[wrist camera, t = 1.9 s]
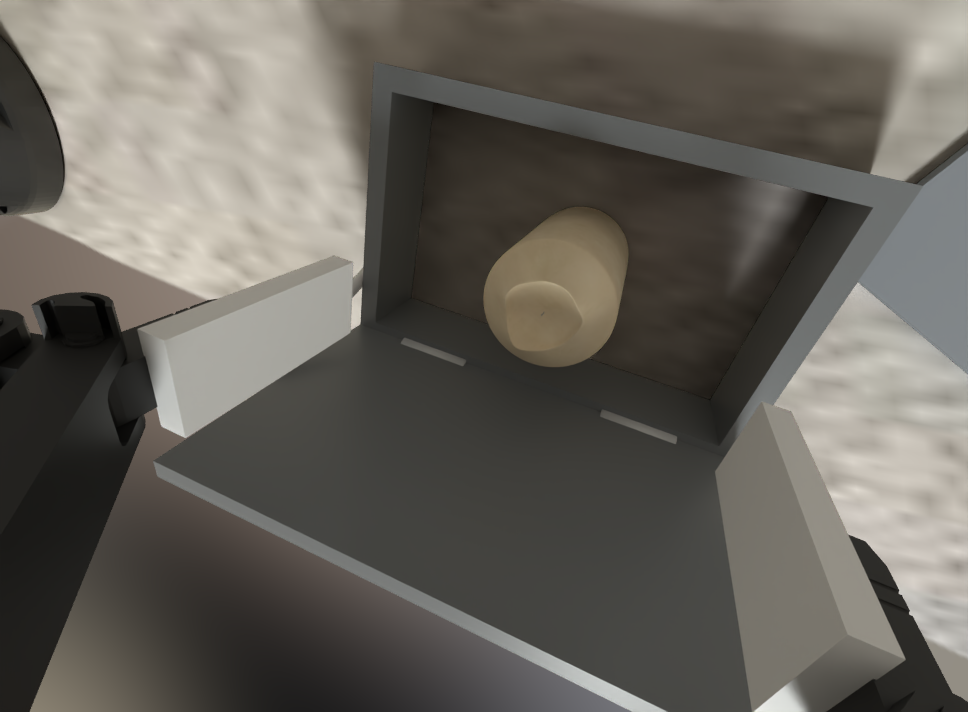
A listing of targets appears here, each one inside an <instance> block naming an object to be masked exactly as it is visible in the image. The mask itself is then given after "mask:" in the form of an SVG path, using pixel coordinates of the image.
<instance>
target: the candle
mask: <svg viewBox="0 0 968 712" xmlns="http://www.w3.org/2000/svg"><path fill="white" fill-rule="evenodd" d="M628 259H629V250H628V244H627V241H626V237H625V235H624V233H623V231H622V230H621V228H620V226H619V225H618V224H617V223H616V222H615V221H614V220H613V219H612V218H611V217H610V216H608V215H607V214H605V213H603V212H601V211H599V210H597V209H593V208H589V207H571V208H567V209H564V210H561V211H559V212H557V213H555V214H553V215H552V216H550V217H549V218H547V219H546V220H545V221H543V222H542V223H541V224H540V225H539V226H537V227H536V228H535V229H534V230H532V231H531V232H530V233H529V234H527V235H526V236H525V237H524V238H523V239H521V240H520V241H519V242H518V243H516V244H515V245H514V246H513V247H512V248H510V249H509V250H508V251H507V252H505V253H504V254H503V255H502V256H501V257H500V258H499V259H498V260H497V262H496V263H495V264H494V266H493V267H492V269H491V271H490V273H489V275H488V277H487V280H486V283H485V287H484V295H483V303H484V311H485V315H486V319H487V322H488V324H489V326H490V328H491V330H492V332H493V334H494V335H495V337H496V338H497V339H498V341H499V342H500V343H501V344H502V345H503V346H504V347H505V348H506V349H507V350H508V351H510V352H511V353H512V354H514V355H515V356H517V357H518V358H520V359H522V360H524V361H526V362H529V363H532V364H535V365H539V366H545V367H565V366H569V365H574V364H577V363H579V362H582V361H584V360H586V359H588V358H589V357H591V356H592V355H594V354H595V353H596V352H597V351H598V350H600V349H601V348H602V347H603V345H604V344H605V343H606V342H607V340H608V339H609V337H610V335H611V334H612V331H613V329H614V327H615V323H616V320H617V315H618V311H619V306H620V301H621V296H622V291H623V286H624V282H625V277H626V272H627V266H628Z"/></svg>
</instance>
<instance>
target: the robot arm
mask: <svg viewBox="0 0 968 712" xmlns="http://www.w3.org/2000/svg"><path fill="white" fill-rule="evenodd" d="M62 187H63V161H62V155H61V149H60V145H59V141H58V138H57V134H56V131H55V128H54V125H53V122H52V120H51V117H50V115H49V112H48V110H47V108H46V105H45V103H44V101H43V99H42V97H41V95H40V93H39V91H38V89H37V87H36V86H35V84H34V82H33V80H32V79H31V77H30V75H29V74H28V72H27V71H26V69H25V67H24V66H23V64H22V63H21V62H20V60H19V59H18V57H17V56H16V55H15V53H14V52H13V51H12V49H11V48H10V47H9V46H8V44H7V43H6V42H5V41H4V40H3V39H2V37H1V36H0V215H4V216H15V215H23V214H31V213H38V212H44V211H47V210H49V209H51V208H52V207H53V206H54V205H55V204H56V203H57V201H58V200H59V197H60V195H61V192H62ZM352 285H353V262H351V261H348V260H345V259H342V258H340V257H337V256H332V257H329V258H327V259H324V260H321V261H319V262H316V263H313V264H311V265H308V266H305V267H302V268H300V269H297V270H294V271H292V272H289V273H286V274H284V275H281V276H278V277H276V278H273V279H270V280H267V281H265V282H262V283H259V284H257V285H254V286H251V287H249V288H246V289H243V290H241V291H238V292H235V293H232V294H230V295H227V296H224V297H222V298H219V299H213V300H208V301H205V302H202V303H200V304H197V305H194V306H191V307H190V309H188V308H186V309H183V310H180V311H178V312H176V313H175V314H169V315H167V316H164V317H161V318H159V319H156V320H153V321H150V322H148V323H145V324H142V325H140V326H137V327H134V328H131V329H129V330H126V331H123V332H121V329H120V325H119V322H118V318H117V314H116V311H115V307H114V303H113V301H112V300H111V299H110V298H109V297H107V296H104V295H101V294H96V293H85V292H81V293H65V294H59V295H54V296H50V297H47V298H44V299H41V300H39V301H37V302H36V303H34V304H32V308H33V310H34V313H35V315H36V318H37V321H38V324H39V326H40V329H41V331H42V334H43V335H40V334H34V333H30V332H29V329H28V327H27V324H26V322H25V319H24V317H23V316H22V315H21V314H19V313H18V312H14V311H10V310H0V712H30V709H31V707H32V704H33V702H34V699H35V697H36V694H37V692H38V689H39V687H40V685H41V682H42V679H43V677H44V675H45V672H46V670H47V667H48V665H49V662H50V660H51V657H52V655H53V652H54V650H55V648H56V645H57V643H58V640H59V638H60V635H61V633H62V630H63V628H64V625H65V623H66V621H67V618H68V616H69V613H70V611H71V608H72V606H73V603H74V601H75V598H76V596H77V593H78V591H79V589H80V586H81V584H82V581H83V579H84V576H85V574H86V571H87V569H88V567H89V564H90V561H91V559H92V556H93V554H94V551H95V549H96V547H97V544H98V542H99V539H100V537H101V534H102V532H103V530H104V527H105V525H106V522H107V520H108V517H109V515H110V512H111V510H112V507H113V505H114V502H115V500H116V498H117V495H118V493H119V490H120V488H121V485H122V483H123V480H124V478H125V475H126V473H127V471H128V468H129V466H130V463H131V461H132V458H133V456H134V453H135V451H136V448H137V446H138V444H139V441H140V438H141V436H142V433H143V431H144V429H145V417H144V414H145V413H147V412H149V411H151V410H152V409H154V408H156V407H157V410H158V415H159V419H160V423H161V426H162V427H164V428H166V429H168V430H170V431H172V432H174V433H176V434H178V435H180V436H182V437H184V438H186V437H188V436H190V435H191V434H193V433H194V432H196V431H197V430H199V429H201V428H202V427H204V426H205V425H207V424H208V423H210V422H212V421H213V420H215V419H216V418H218V417H219V416H221V415H223V414H224V413H226V412H227V411H229V410H230V409H232V408H234V407H235V406H237V405H238V404H240V403H241V402H243V401H245V400H246V399H248V398H249V397H251V396H252V395H254V394H255V393H257V392H259V391H260V390H262V389H263V388H265V387H266V386H268V385H270V384H271V383H273V382H274V381H276V380H277V379H279V378H281V377H282V376H284V375H285V374H287V373H288V372H290V371H292V370H293V369H295V368H296V367H298V366H299V365H301V364H302V363H304V362H306V361H307V360H309V359H310V358H312V357H313V356H315V355H317V354H318V353H320V352H321V351H323V350H324V349H326V348H328V347H329V346H331V345H332V344H334V343H335V342H337V341H339V340H340V339H342V338H343V337H345V336H346V335H348V334H350V333H351V309H352ZM715 475H716V481H717V488H718V494H719V501H720V507H721V513H722V520H723V526H724V533H725V539H726V546H727V552H728V559H729V565H730V572H731V578H732V585H733V591H734V598H735V604H736V611H737V617H738V624H739V630H740V637H741V643H742V650H743V656H744V663H745V669H746V676H747V682H748V689H749V695H750V701H751V708H752V712H968V702H967V701H965V700H964V699H963V698H961V697H959V696H957V695H955V694H953V693H952V691H951V689H950V687H949V686H948V684H947V682H946V680H945V678H944V676H943V674H942V672H941V670H940V668H939V666H938V664H937V662H936V661H935V658H934V657H933V655H932V653H931V651H930V649H929V647H928V645H927V643H926V641H925V639H924V637H923V635H922V633H921V631H920V629H919V628H918V626H917V624H916V622H915V620H914V618H913V616H911V615H909V611H910V610H909V608H908V606H907V604H906V602H905V600H904V599H903V597H902V595H900V594H898V592H899V589H898V587H897V585H896V583H895V581H894V579H893V577H892V575H891V573H890V572H889V570H888V568H887V566H886V565H885V564H884V562H883V561H882V560H881V559H880V558H879V557H878V556H877V554H876V553H875V552H874V551H873V550H872V549H871V547H870V546H869V545H868V544H867V543H866V542H865V541H863V540H860V539H858V538H855V537H853V536H850V535H848V533H847V531H846V529H845V527H844V525H843V522H842V520H841V518H840V516H839V514H838V512H837V509H836V507H835V505H834V503H833V501H832V499H831V496H830V494H829V492H828V490H827V488H826V486H825V483H824V481H823V479H822V477H821V475H820V473H819V470H818V468H817V466H816V464H815V462H814V460H813V457H812V455H811V453H810V451H809V449H808V447H807V444H806V442H805V440H804V438H803V436H802V434H801V431H800V429H799V427H798V425H797V423H796V421H795V418H794V416H793V414H792V412H791V411H788V410H785V409H782V408H779V407H777V406H774V405H771V404H768V403H765V402H761V403H760V405H759V406H758V408H757V409H756V411H755V412H754V414H753V415H752V417H751V418H750V420H749V421H748V423H747V424H746V426H745V427H744V429H743V430H742V432H741V433H740V435H739V436H738V438H737V439H736V441H735V442H734V444H733V445H732V447H731V448H730V450H729V451H728V453H727V454H726V456H725V457H724V459H723V460H722V462H721V463H720V465H719V466H718V468H717V469H716V471H715Z"/></svg>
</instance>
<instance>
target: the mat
mask: <svg viewBox="0 0 968 712" xmlns="http://www.w3.org/2000/svg"><path fill="white" fill-rule="evenodd" d="M916 185H921V186H923V188H922V189H921V190H920V192H919V193H918V195H917V196H916V198H915V199H914V201H913V202H912V204H911V205H910V206H909V208H908V209H907V211H906V212H905V214H904V215H903V217H902V218H901V220H900V221H899V222H898V224H897V225H896V227H895V228H894V230H893V231H892V233H891V234H890V236H889V237H888V239H887V240H886V241H885V243H884V244H883V246H882V247H881V249H880V250H879V252H878V253H877V255H876V256H875V257H874V259H873V260H872V262H871V263H870V265H869V266H868V268H867V269H866V271H865V272H864V273H863V275H862V276H861V278H860V279H859V281H858V282H859V283H860V284H861V285H862V286H863V287H864V288H866V289H867V290H868V291H869V292H870V293H872V294H873V295H874V296H875V297H876V298H878V299H879V300H880V301H881V302H882V303H884V304H885V305H886V306H887V307H888V308H890V309H891V310H892V311H893V312H894V313H895V314H897V315H898V316H899V317H900V318H901V319H903V320H904V321H905V322H906V323H907V324H909V325H910V326H911V327H912V328H913V329H915V330H916V331H917V332H918V333H919V334H921V335H922V336H923V337H924V338H925V339H926V340H928V341H929V342H930V343H931V344H932V345H934V346H935V347H936V348H937V349H938V350H940V351H941V352H942V353H943V354H944V355H946V356H947V357H948V358H949V359H950V360H952V361H953V362H954V363H955V364H956V365H957V366H959V367H960V368H961V369H962V370H963V371H965V372H966V373H967V374H968V143H967V144H966V145H965V146H964V147H962V148H961V149H960V150H959V151H957V152H956V153H955V154H954V155H952V156H951V157H950V158H949V159H947V160H946V161H945V162H943V163H942V164H941V165H940V166H938V167H937V168H936V169H935V170H933V171H932V172H931V173H930V174H928V175H927V176H926V177H925V178H923V179H922V180H921V181H919V182H918V183H917V184H916Z"/></svg>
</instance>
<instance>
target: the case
mask: <svg viewBox="0 0 968 712" xmlns="http://www.w3.org/2000/svg"><path fill="white" fill-rule="evenodd" d="M434 102H436V103H440V104H444V105H448V106H452V107H457V108H461V109H465V110H469V111H473V112H477V113H482V114H486V115H490V116H494V117H498V118H502V119H507V120H511V121H515V122H519V123H523V124H527V125H532V126H536V127H540V128H544V129H548V130H552V131H557V132H561V133H565V134H569V135H573V136H577V137H582V138H586V139H590V140H594V141H598V142H602V143H607V144H611V145H615V146H619V147H623V148H627V149H632V150H636V151H640V152H644V153H648V154H652V155H657V156H661V157H665V158H669V159H673V160H678V161H682V162H686V163H690V164H694V165H698V166H703V167H707V168H711V169H715V170H719V171H723V172H728V173H732V174H736V175H740V176H744V177H748V178H753V179H757V180H761V181H765V182H769V183H773V184H778V185H782V186H786V187H790V188H794V189H798V190H803V191H807V192H811V193H815V194H819V195H823V196H828V197H829V198H828V200H827V201H826V203H825V205H824V207H823V208H822V210H821V212H820V213H819V215H818V217H817V219H816V220H815V222H814V224H813V225H812V227H811V229H810V231H809V232H808V234H807V236H806V237H805V239H804V241H803V242H802V244H801V246H800V248H799V249H798V251H797V253H796V254H795V256H794V258H793V260H792V261H791V263H790V265H789V266H788V268H787V270H786V271H785V273H784V275H783V277H782V278H781V280H780V282H779V283H778V285H777V287H776V289H775V290H774V292H773V294H772V295H771V297H770V299H769V300H768V302H767V304H766V306H765V307H764V309H763V311H762V312H761V314H760V316H759V318H758V319H757V321H756V323H755V324H754V326H753V328H752V329H751V331H750V333H749V335H748V336H747V338H746V340H745V341H744V343H743V345H742V347H741V348H740V350H739V352H738V353H737V355H736V357H735V358H734V360H733V362H732V364H731V365H730V367H729V369H728V370H727V372H726V374H725V376H724V377H723V379H722V381H721V382H720V384H719V386H718V387H717V389H716V391H715V393H714V394H713V396H712V398H711V399H710V400H708V399H705V398H702V397H699V396H696V395H693V394H690V393H688V392H685V391H682V390H679V389H676V388H673V387H670V386H667V385H664V384H661V383H658V382H655V381H652V380H649V379H647V378H644V377H641V376H638V375H635V374H632V373H629V372H626V371H623V370H620V369H617V368H614V367H611V366H608V365H606V364H603V363H600V362H597V361H594V360H591V359H586V360H584V361H582V362H579V363H577V364H574V365H569V366H565V367H545V366H539V365H535V364H532V363H529V362H526V361H524V360H522V359H520V358H518V357H517V356H515V355H514V354H512V353H511V352H510V351H508V350H507V349H506V348H505V347H504V346H503V345H502V344H501V343H500V342H499V341H498V339H497V338H496V337H495V335H494V334H493V332H492V330H491V328H490V326H489V324H486V323H483V322H480V321H477V320H474V319H471V318H468V317H465V316H462V315H459V314H456V313H453V312H450V311H448V310H445V309H442V308H439V307H436V306H433V305H430V304H427V303H424V302H421V301H418V300H415V299H412V298H411V294H412V285H413V277H414V268H415V259H416V251H417V242H418V233H419V225H420V216H421V207H422V199H423V190H424V181H425V173H426V164H427V155H428V147H429V138H430V129H431V121H432V112H433V103H434ZM922 188H923V186H921V185H916V184H912V183H908V182H903V181H899V180H894V179H890V178H886V177H881V176H877V175H872V174H868V173H864V172H859V171H855V170H850V169H846V168H841V167H837V166H833V165H828V164H824V163H819V162H815V161H811V160H806V159H802V158H797V157H793V156H788V155H784V154H780V153H775V152H771V151H766V150H762V149H758V148H753V147H749V146H744V145H740V144H735V143H731V142H727V141H722V140H718V139H713V138H709V137H705V136H700V135H696V134H691V133H687V132H682V131H678V130H674V129H669V128H665V127H660V126H656V125H652V124H647V123H643V122H638V121H634V120H630V119H625V118H621V117H616V116H612V115H607V114H603V113H599V112H594V111H590V110H585V109H581V108H577V107H572V106H568V105H563V104H559V103H554V102H550V101H546V100H541V99H537V98H532V97H528V96H524V95H519V94H515V93H510V92H506V91H501V90H497V89H493V88H488V87H484V86H479V85H475V84H471V83H466V82H462V81H457V80H453V79H448V78H444V77H440V76H435V75H431V74H426V73H422V72H418V71H413V70H409V69H404V68H400V67H395V66H391V65H387V64H382V63H378V62H374V71H373V91H372V110H371V130H370V149H369V169H368V189H367V208H366V228H365V247H364V267H363V268H362V269H361V270H360V272H359V273H358V274H357V275H356V276H355V277H354V278H353V285H352V298H353V297H354V295H355V294H356V293H357V292H358V291H359V290H360V289H361V288H362V306H361V325H359V326H357V327H356V328H354V329H353V330H351V333H350V334H348V335H346V336H345V337H343V338H342V339H340V340H339V341H337V342H335V343H334V344H332V345H331V346H329V347H328V348H326V349H324V350H323V351H321V352H320V353H318V354H317V355H315V356H313V357H312V358H310V359H309V360H307V361H306V362H304V363H302V364H301V365H299V366H298V367H296V368H295V369H293V370H292V371H290V372H288V373H287V374H285V375H284V376H282V377H281V378H279V379H277V380H276V381H274V382H273V383H271V384H270V385H268V386H266V387H265V388H263V389H262V390H260V391H259V392H257V393H256V394H254V395H253V396H251V397H250V398H248V399H247V400H245V401H244V402H242V403H241V404H239V405H237V406H236V407H234V408H233V409H231V410H230V411H228V412H227V413H225V414H224V415H222V416H221V417H219V418H218V419H216V420H215V421H213V422H212V423H210V424H209V425H207V426H206V427H204V428H203V429H201V430H200V431H198V432H196V433H195V434H194V435H192V436H190V437H189V438H187V439H186V440H184V441H183V442H182V443H180V444H178V445H177V446H175V447H174V448H172V449H171V450H169V451H168V452H166V453H165V454H163V455H162V456H160V457H159V458H157V459H155V460H154V461H153V462H154V466H155V469H156V472H157V476H158V477H160V478H162V479H164V480H166V481H168V482H170V483H172V484H174V485H176V486H178V487H180V488H182V489H184V490H186V491H188V492H190V493H192V494H194V495H196V496H198V497H200V498H202V499H204V500H206V501H208V502H210V503H212V504H214V505H216V506H218V507H220V508H222V509H224V510H227V511H228V512H230V513H232V514H234V515H236V516H238V517H240V518H242V519H245V520H246V521H249V522H250V523H253V524H255V525H257V526H259V527H261V528H263V529H265V530H267V531H269V532H271V533H273V534H275V535H277V536H279V537H281V538H283V539H285V540H287V541H289V542H291V543H293V544H295V545H297V546H299V547H301V548H303V549H305V550H307V551H309V552H311V553H313V554H315V555H317V556H319V557H321V558H323V559H325V560H327V561H329V562H331V563H333V564H335V565H337V566H339V567H341V568H343V569H346V570H347V571H349V572H352V573H353V574H356V575H357V576H359V577H361V578H363V579H366V580H368V581H370V582H372V583H374V584H376V585H378V586H380V587H382V588H384V589H386V590H388V591H390V592H392V593H394V594H396V595H398V596H400V597H402V598H404V599H406V600H408V601H410V602H412V603H414V604H416V605H418V606H420V607H422V608H424V609H426V610H428V611H430V612H432V613H434V614H436V615H438V616H440V617H442V618H444V619H446V620H448V621H450V622H452V623H455V624H456V625H458V626H461V627H462V628H464V629H466V630H468V631H470V632H473V633H475V634H477V635H479V636H481V637H483V638H485V639H487V640H489V641H491V642H493V643H495V644H497V645H499V646H501V647H503V648H505V649H507V650H509V651H511V652H513V653H515V654H517V655H519V656H521V657H523V658H525V659H527V660H529V661H531V662H533V663H535V664H537V665H539V666H541V667H543V668H545V669H547V670H549V671H551V672H554V673H555V674H557V675H559V676H561V677H564V678H565V679H567V680H569V681H571V682H573V683H576V684H578V685H580V686H582V687H584V688H586V689H588V690H590V691H592V692H594V693H596V694H598V695H600V696H602V697H604V698H606V699H608V700H610V701H612V702H614V703H616V704H618V705H620V706H622V707H624V708H626V709H628V710H630V711H632V712H752V708H751V701H750V695H749V689H748V682H747V676H746V669H745V663H744V656H743V650H742V643H741V637H740V630H739V624H738V617H737V611H736V604H735V598H734V591H733V585H732V578H731V572H730V565H729V559H728V552H727V546H726V539H725V533H724V526H723V520H722V513H721V507H720V501H719V494H718V488H717V481H716V475H715V471H716V469H717V468H718V466H719V465H720V463H721V462H722V460H723V459H724V457H725V456H726V454H727V453H728V451H729V450H730V448H731V447H732V445H733V444H734V442H735V441H736V439H737V438H738V436H739V435H740V433H741V432H742V430H743V429H744V427H745V426H746V424H747V423H748V421H749V420H750V418H751V417H752V415H753V414H754V412H755V411H756V409H757V408H758V406H759V405H760V403H761V402H765V403H768V404H771V405H774V403H775V402H776V400H777V399H778V397H779V396H780V394H781V393H782V391H783V390H784V389H785V387H786V386H787V384H788V383H789V381H790V380H791V378H792V377H793V375H794V374H795V373H796V371H797V370H798V368H799V367H800V365H801V364H802V362H803V361H804V359H805V358H806V356H807V355H808V354H809V352H810V351H811V349H812V348H813V346H814V345H815V343H816V342H817V340H818V339H819V338H820V336H821V335H822V333H823V332H824V330H825V329H826V327H827V326H828V324H829V323H830V322H831V320H832V319H833V317H834V316H835V314H836V313H837V311H838V310H839V308H840V307H841V306H842V304H843V303H844V301H845V300H846V298H847V297H848V295H849V294H850V292H851V291H852V289H853V288H854V287H855V285H856V284H857V282H858V281H859V279H860V278H861V276H862V275H863V273H864V272H865V271H866V269H867V268H868V266H869V265H870V263H871V262H872V260H873V259H874V257H875V256H876V255H877V253H878V252H879V250H880V249H881V247H882V246H883V244H884V243H885V241H886V240H887V239H888V237H889V236H890V234H891V233H892V231H893V230H894V228H895V227H896V225H897V224H898V222H899V221H900V220H901V218H902V217H903V215H904V214H905V212H906V211H907V209H908V208H909V206H910V205H911V204H912V202H913V201H914V199H915V198H916V196H917V195H918V193H919V192H920V190H921V189H922Z"/></svg>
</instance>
